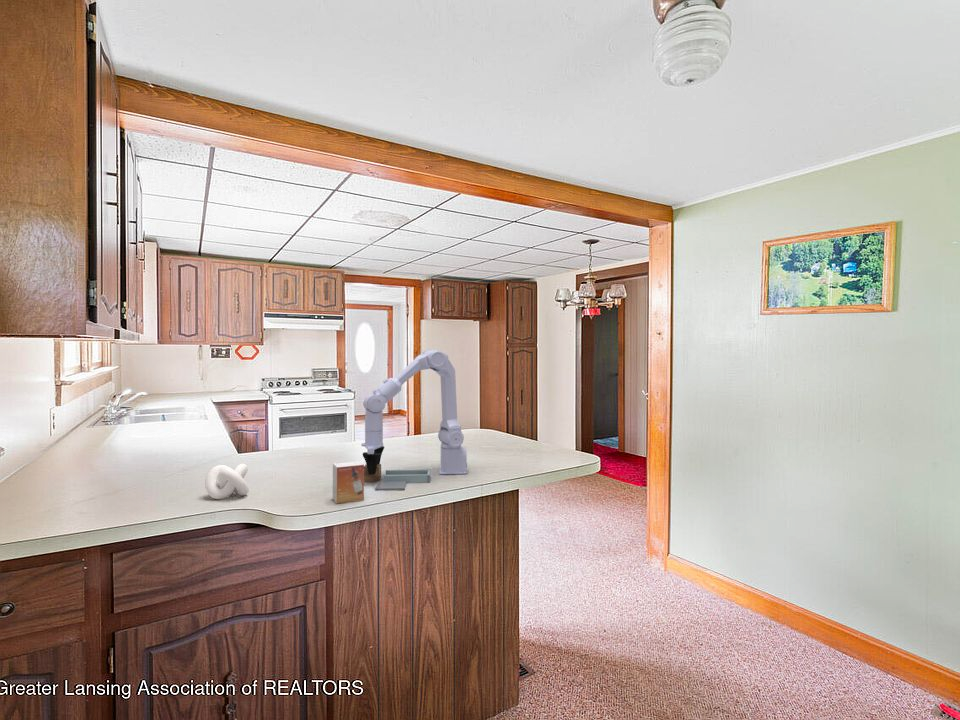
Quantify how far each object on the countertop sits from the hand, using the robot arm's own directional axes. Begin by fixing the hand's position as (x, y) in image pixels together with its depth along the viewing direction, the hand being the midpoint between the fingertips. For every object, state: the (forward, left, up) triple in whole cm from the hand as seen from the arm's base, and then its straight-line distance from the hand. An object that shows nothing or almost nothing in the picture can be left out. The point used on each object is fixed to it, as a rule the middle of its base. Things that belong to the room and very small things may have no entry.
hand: (373, 471), depth 163 cm
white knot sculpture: (+39, +15, -3) cm, 42 cm away
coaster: (-7, +7, -3) cm, 10 cm away
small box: (+4, +20, -3) cm, 21 cm away
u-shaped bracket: (-11, 0, -3) cm, 11 cm away
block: (0, 0, -3) cm, 3 cm away
